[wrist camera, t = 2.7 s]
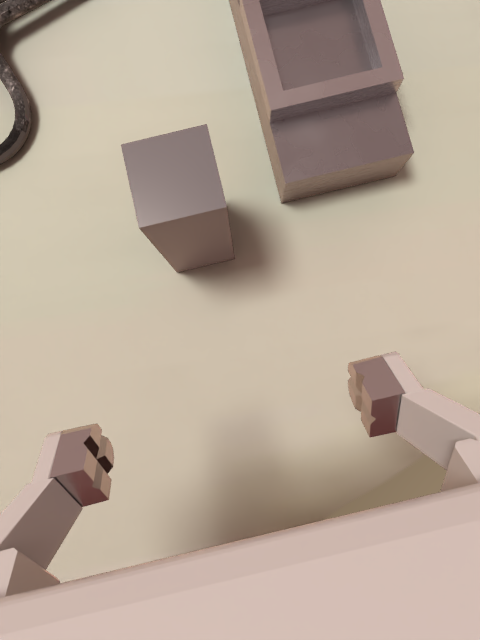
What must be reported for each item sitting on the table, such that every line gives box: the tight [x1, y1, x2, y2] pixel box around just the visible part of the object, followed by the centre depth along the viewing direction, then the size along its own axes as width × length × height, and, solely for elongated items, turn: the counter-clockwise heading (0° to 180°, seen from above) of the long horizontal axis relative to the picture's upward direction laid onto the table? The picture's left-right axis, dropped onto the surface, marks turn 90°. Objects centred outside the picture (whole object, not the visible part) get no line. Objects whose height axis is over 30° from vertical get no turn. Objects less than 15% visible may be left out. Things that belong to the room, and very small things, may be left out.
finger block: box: [121, 124, 235, 272], centre depth 22 cm, size 4×4×9 cm
